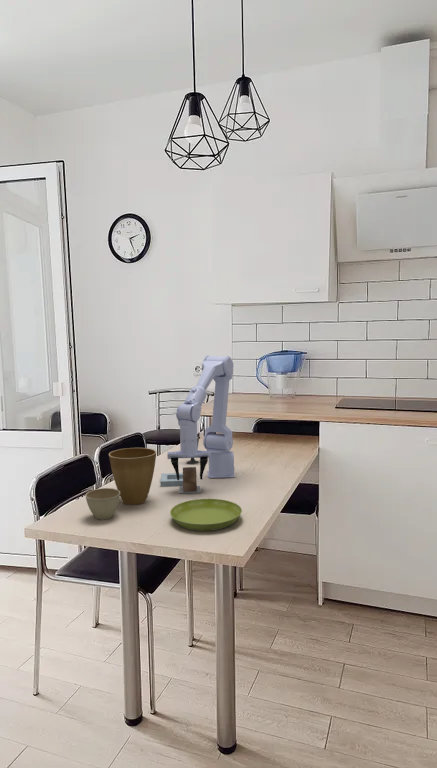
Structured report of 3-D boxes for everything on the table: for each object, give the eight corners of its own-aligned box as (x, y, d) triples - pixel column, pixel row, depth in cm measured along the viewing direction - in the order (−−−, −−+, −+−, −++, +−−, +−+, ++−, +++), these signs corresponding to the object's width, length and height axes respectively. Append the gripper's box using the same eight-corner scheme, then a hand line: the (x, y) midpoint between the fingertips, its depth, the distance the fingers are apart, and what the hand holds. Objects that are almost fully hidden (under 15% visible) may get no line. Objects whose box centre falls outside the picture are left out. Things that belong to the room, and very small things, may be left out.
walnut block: (196, 486, 192) (195, 466, 191) (196, 490, 188) (196, 470, 187) (183, 487, 192) (182, 467, 191) (183, 491, 187) (182, 471, 186)
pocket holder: (188, 477, 205) (188, 472, 205) (189, 485, 195) (189, 480, 195) (161, 478, 204) (161, 473, 204) (160, 486, 194) (160, 481, 194)
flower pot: (80, 516, 166) (78, 493, 165) (108, 508, 173) (107, 486, 172) (98, 525, 159) (97, 501, 158) (127, 516, 166) (126, 493, 165)
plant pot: (167, 500, 179) (165, 451, 177) (129, 512, 169) (127, 460, 167) (138, 491, 190) (137, 444, 188) (101, 501, 179) (99, 452, 177)
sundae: (181, 463, 223) (180, 427, 221) (188, 459, 230) (187, 423, 228) (196, 465, 221) (195, 428, 219) (203, 461, 227) (202, 424, 225)
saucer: (189, 505, 175) (189, 495, 175) (251, 513, 168) (251, 503, 167) (157, 528, 157) (157, 517, 156) (225, 539, 149) (225, 527, 148)
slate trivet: (199, 486, 193) (199, 485, 193) (200, 493, 186) (200, 492, 186) (179, 487, 193) (179, 486, 193) (179, 494, 186) (179, 492, 186)
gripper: (166, 442, 183) (167, 483, 184) (211, 441, 184) (211, 481, 185) (167, 438, 190) (168, 477, 191) (209, 436, 191) (210, 475, 192)
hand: (189, 478), depth 189 cm, fingers open, 7 cm apart
